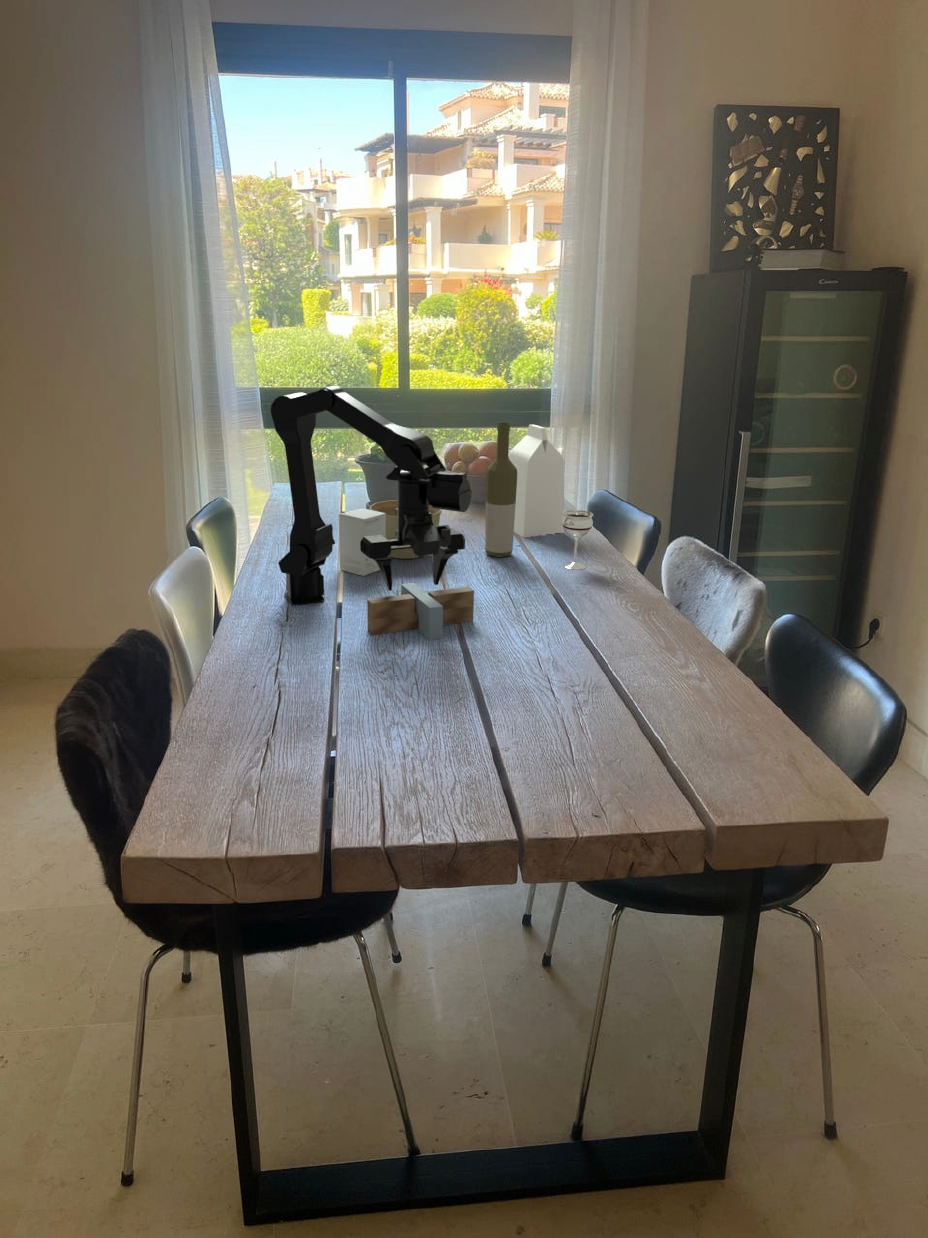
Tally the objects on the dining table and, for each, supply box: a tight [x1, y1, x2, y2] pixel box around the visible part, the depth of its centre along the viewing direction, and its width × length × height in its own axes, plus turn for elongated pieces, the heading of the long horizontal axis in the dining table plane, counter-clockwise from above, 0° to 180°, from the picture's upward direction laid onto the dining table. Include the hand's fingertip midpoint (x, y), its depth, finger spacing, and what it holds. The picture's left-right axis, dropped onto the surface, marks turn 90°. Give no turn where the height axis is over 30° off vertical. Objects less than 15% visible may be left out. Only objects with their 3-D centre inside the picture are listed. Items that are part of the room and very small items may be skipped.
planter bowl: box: [369, 499, 442, 560], centre depth 215 cm, size 16×16×11 cm
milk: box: [508, 423, 566, 538], centre depth 235 cm, size 12×12×26 cm
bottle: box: [484, 422, 518, 558], centre depth 213 cm, size 7×7×30 cm
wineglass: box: [562, 509, 594, 570], centre depth 209 cm, size 7×7×12 cm
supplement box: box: [338, 508, 386, 577], centre depth 203 cm, size 7×7×13 cm
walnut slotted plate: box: [366, 586, 475, 636], centre depth 173 cm, size 20×2×6 cm, turn 115°
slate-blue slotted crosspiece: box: [400, 582, 444, 641], centre depth 173 cm, size 14×2×6 cm, turn 25°
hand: (413, 587), depth 176 cm, fingers open, 9 cm apart
